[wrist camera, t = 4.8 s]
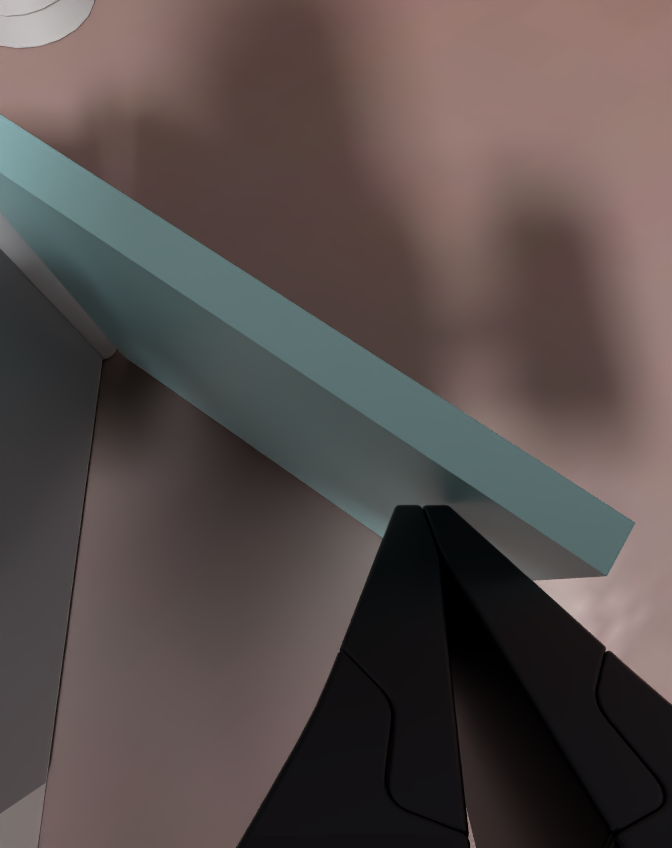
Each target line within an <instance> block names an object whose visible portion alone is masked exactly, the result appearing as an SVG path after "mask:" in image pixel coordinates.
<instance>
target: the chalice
mask: <svg viewBox="0 0 672 848" xmlns="http://www.w3.org/2000/svg"><path fill="white" fill-rule="evenodd" d="M93 4H94V0H0V46H7V47H14V48H25V47H36V46H41V45H44V44H48V43H51V42H54V41H57V40H60V39H61V38H63V37H65V36H66V35H68V34H69V33H71V32H73V31H74V30H76V29H77V28H78V27H79V26H80V25H81V24H82V22H83V21H84V20H85V19H86V18H87V17H88V16H89V13H90V11H91V9H92V6H93Z"/></svg>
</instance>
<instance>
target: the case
mask: <svg viewBox="0 0 672 848" xmlns="http://www.w3.org/2000/svg"><path fill="white" fill-rule="evenodd" d="M115 351H116V347H115V346H114V345H113V344H112V342H111V341H110V340H109V339H108V338H107V337H106V335H105V334H104V333H103V332H102V331H101V330H100V328H99V327H98V326H97V325H96V324H95V322H94V321H93V320H92V319H91V318H90V317H89V315H88V314H87V313H86V312H85V311H84V310H83V308H82V307H81V306H80V305H79V304H78V303H77V301H76V300H75V299H74V298H73V297H72V296H71V294H70V293H69V292H68V291H67V290H66V289H65V287H64V286H63V285H62V284H61V283H60V281H59V280H58V279H57V278H56V277H55V276H54V274H53V273H52V272H51V271H50V270H49V269H48V267H47V266H46V265H45V264H44V263H43V262H42V260H41V259H40V258H39V257H38V256H37V255H36V253H35V252H34V251H33V250H32V249H31V247H30V246H29V245H28V244H27V243H26V242H25V240H24V239H23V238H22V237H21V236H20V235H19V233H18V232H17V231H16V230H15V229H14V228H13V226H12V225H11V224H10V223H9V222H8V221H7V219H6V218H5V217H4V216H3V215H2V214H1V212H0V848H38V842H39V834H40V826H41V819H42V811H43V804H44V796H45V789H46V781H47V774H48V766H49V759H50V751H51V743H52V736H53V728H54V721H55V713H56V706H57V698H58V691H59V683H60V676H61V668H62V660H63V653H64V645H65V638H66V630H67V623H68V615H69V608H70V600H71V592H72V585H73V577H74V570H75V562H76V555H77V547H78V540H79V532H80V525H81V517H82V509H83V502H84V494H85V487H86V479H87V472H88V464H89V457H90V449H91V442H92V434H93V426H94V419H95V411H96V404H97V396H98V389H99V381H100V374H101V366H102V359H107V358H109V357H111V356H112V355H113V354H114V353H115Z"/></svg>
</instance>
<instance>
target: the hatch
mask: <svg viewBox="0 0 672 848" xmlns="http://www.w3.org/2000/svg"><path fill="white" fill-rule="evenodd" d="M0 212H1V214H2V215H3V216H4V217H5V218H6V219H7V221H8V222H9V223H10V224H11V225H12V226H13V228H14V229H15V230H16V231H17V232H18V233H19V235H20V236H21V237H22V238H23V239H24V240H25V242H26V243H27V244H28V245H29V246H30V247H31V249H32V250H33V251H34V252H35V253H36V255H37V256H38V257H39V258H40V259H41V260H42V262H43V263H44V264H45V265H46V266H47V267H48V269H49V270H50V271H51V272H52V273H53V274H54V276H55V277H56V278H57V279H58V280H59V281H60V283H61V284H62V285H63V286H64V287H65V289H66V290H67V291H68V292H69V293H70V294H71V296H72V297H73V298H74V299H75V300H76V301H77V303H78V304H79V305H80V306H81V307H82V308H83V310H84V311H85V312H86V313H87V314H88V315H89V317H90V318H91V319H92V320H93V321H94V322H95V324H96V325H97V326H98V327H99V328H100V330H101V331H102V332H103V333H104V334H105V335H106V337H107V338H108V339H109V340H110V341H111V342H112V344H113V345H114V346H115V347H116V348H117V349H118V351H119V352H120V353H121V354H122V355H123V356H124V357H125V358H127V359H128V360H130V361H131V362H132V363H134V364H135V365H137V366H138V367H140V368H141V369H142V370H144V371H145V372H147V373H148V374H150V375H151V376H152V377H154V378H155V379H157V380H158V381H159V382H161V383H162V384H164V385H165V386H167V387H168V388H169V389H171V390H172V391H174V392H175V393H177V394H178V395H179V396H181V397H182V398H184V399H185V400H187V401H188V402H189V403H191V404H192V405H194V406H195V407H197V408H198V409H199V410H201V411H202V412H204V413H205V414H207V415H208V416H209V417H211V418H212V419H214V420H215V421H217V422H218V423H219V424H221V425H222V426H224V427H225V428H226V429H228V430H229V431H231V432H232V433H234V434H235V435H236V436H238V437H239V438H241V439H242V440H244V441H245V442H246V443H248V444H249V445H251V446H252V447H254V448H255V449H256V450H258V451H259V452H261V453H262V454H264V455H265V456H266V457H268V458H269V459H271V460H272V461H274V462H275V463H276V464H278V465H279V466H281V467H282V468H283V469H285V470H286V471H288V472H289V473H291V474H292V475H293V476H295V477H296V478H298V479H299V480H301V481H302V482H303V483H305V484H306V485H308V486H309V487H311V488H312V489H313V490H315V491H316V492H318V493H319V494H321V495H322V496H323V497H325V498H326V499H328V500H329V501H331V502H332V503H333V504H335V505H336V506H338V507H339V508H341V509H342V510H343V511H345V512H346V513H348V514H349V515H350V516H352V517H353V518H355V519H356V520H358V521H359V522H360V523H362V524H363V525H365V526H366V527H368V528H369V529H370V530H372V531H373V532H375V533H376V534H378V535H379V536H380V537H382V538H383V536H384V534H385V531H386V529H387V526H388V523H389V521H390V518H391V516H392V513H393V511H394V508H395V507H396V506H397V505H419V506H421V507H422V508H423V506H425V505H448V506H450V507H451V508H452V509H453V510H454V511H456V512H457V513H458V514H459V515H460V516H461V517H462V518H463V519H464V520H466V521H467V522H468V523H469V524H470V525H471V526H472V527H473V528H474V529H476V530H477V531H478V532H479V533H480V534H481V535H482V536H483V537H484V538H485V539H487V540H488V541H489V542H490V543H491V544H492V545H493V546H494V547H495V548H497V549H498V550H499V551H500V552H501V553H502V554H503V555H504V556H505V557H507V558H508V559H509V560H510V561H511V562H512V563H513V564H514V565H515V566H517V567H518V568H519V569H520V570H521V571H522V572H523V573H524V574H525V575H527V576H528V577H529V578H530V579H531V580H532V581H534V580H550V579H567V578H583V577H600V576H607V575H608V573H609V571H610V569H611V568H612V566H613V564H614V562H615V560H616V558H617V556H618V554H619V552H620V551H621V549H622V547H623V545H624V543H625V541H626V539H627V537H628V536H629V534H630V532H631V530H632V528H633V526H634V524H635V522H633V521H632V520H630V519H629V518H627V517H626V516H624V515H623V514H621V513H619V512H618V511H616V510H615V509H613V508H612V507H610V506H609V505H607V504H605V503H604V502H602V501H601V500H599V499H598V498H596V497H595V496H593V495H591V494H590V493H588V492H587V491H585V490H584V489H582V488H581V487H579V486H577V485H576V484H574V483H573V482H571V481H570V480H568V479H567V478H565V477H563V476H562V475H560V474H559V473H557V472H556V471H554V470H553V469H551V468H549V467H548V466H546V465H545V464H543V463H542V462H540V461H539V460H537V459H535V458H534V457H532V456H531V455H529V454H528V453H526V452H525V451H523V450H521V449H520V448H518V447H517V446H515V445H514V444H512V443H511V442H509V441H507V440H506V439H504V438H503V437H501V436H500V435H498V434H497V433H495V432H493V431H492V430H490V429H489V428H487V427H486V426H484V425H483V424H481V423H479V422H478V421H476V420H475V419H473V418H472V417H470V416H469V415H467V414H465V413H464V412H462V411H461V410H459V409H458V408H456V407H455V406H453V405H451V404H450V403H448V402H447V401H445V400H444V399H442V398H441V397H439V396H437V395H436V394H434V393H433V392H431V391H430V390H428V389H427V388H425V387H423V386H422V385H420V384H419V383H417V382H416V381H414V380H413V379H411V378H409V377H408V376H406V375H405V374H403V373H402V372H400V371H399V370H397V369H395V368H394V367H392V366H391V365H389V364H388V363H386V362H385V361H383V360H381V359H380V358H378V357H377V356H375V355H374V354H372V353H371V352H369V351H367V350H366V349H364V348H363V347H361V346H360V345H358V344H357V343H355V342H353V341H352V340H350V339H349V338H347V337H346V336H344V335H343V334H341V333H339V332H338V331H336V330H335V329H333V328H332V327H330V326H329V325H327V324H325V323H324V322H322V321H321V320H319V319H318V318H316V317H315V316H313V315H311V314H310V313H308V312H307V311H305V310H304V309H302V308H301V307H299V306H297V305H296V304H294V303H293V302H291V301H290V300H288V299H287V298H285V297H283V296H282V295H280V294H279V293H277V292H276V291H274V290H273V289H271V288H269V287H268V286H266V285H265V284H263V283H262V282H260V281H259V280H257V279H255V278H254V277H252V276H251V275H249V274H248V273H246V272H245V271H243V270H241V269H240V268H238V267H237V266H235V265H234V264H232V263H231V262H229V261H227V260H226V259H224V258H223V257H221V256H220V255H218V254H216V253H215V252H213V251H212V250H210V249H209V248H207V247H206V246H204V245H202V244H201V243H199V242H198V241H196V240H195V239H193V238H192V237H190V236H188V235H187V234H185V233H184V232H182V231H181V230H179V229H178V228H176V227H174V226H173V225H171V224H170V223H168V222H167V221H165V220H164V219H162V218H160V217H159V216H157V215H156V214H154V213H153V212H151V211H150V210H148V209H146V208H145V207H143V206H142V205H140V204H139V203H137V202H136V201H134V200H132V199H131V198H129V197H128V196H126V195H125V194H123V193H122V192H120V191H118V190H117V189H115V188H114V187H112V186H111V185H109V184H108V183H106V182H104V181H103V180H101V179H100V178H98V177H97V176H95V175H94V174H92V173H90V172H89V171H87V170H86V169H84V168H83V167H81V166H80V165H78V164H76V163H75V162H73V161H72V160H70V159H69V158H67V157H66V156H64V155H62V154H61V153H59V152H58V151H56V150H55V149H53V148H52V147H50V146H48V145H47V144H45V143H44V142H42V141H41V140H39V139H38V138H36V137H34V136H33V135H31V134H30V133H28V132H27V131H25V130H24V129H22V128H20V127H19V126H17V125H16V124H14V123H13V122H11V121H10V120H8V119H6V118H5V117H3V116H2V115H0Z"/></svg>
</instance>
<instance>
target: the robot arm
mask: <svg viewBox="0 0 672 848" xmlns="http://www.w3.org/2000/svg"><path fill="white" fill-rule="evenodd" d="M605 652H606V653H605ZM466 808H467V812H468V816H469V820H470V824H471V829H472V833H473V837H474V841H475V845H476V848H672V704H670V703H669V702H668V701H667V700H666V699H665V698H663V697H662V696H661V695H660V694H659V693H658V692H657V691H655V690H654V689H653V688H652V687H651V686H650V685H648V684H647V683H646V682H645V681H644V680H643V679H641V678H640V677H639V676H638V675H637V674H636V673H634V672H633V671H632V670H631V669H630V668H629V667H628V666H627V665H626V664H624V663H623V662H622V661H621V660H620V659H619V658H618V657H617V656H616V655H614V654H613V653H612V652H611V651H606V647H605V646H604V645H603V644H602V643H601V642H600V641H599V640H598V639H596V638H595V637H594V636H593V635H592V634H591V633H590V632H589V631H588V630H586V629H585V628H584V627H583V626H582V625H581V624H580V623H579V622H578V621H576V620H575V619H574V618H573V617H572V616H571V615H570V614H569V613H568V612H566V611H565V610H564V609H563V608H562V607H561V606H560V605H559V604H558V603H556V602H555V601H554V600H553V599H552V598H551V597H550V596H549V595H548V594H546V593H545V592H544V591H543V590H542V589H541V588H540V587H539V586H538V585H537V584H535V583H534V582H533V581H532V580H531V579H530V578H529V577H528V576H527V575H525V574H524V573H523V572H522V571H521V570H520V569H519V568H518V567H517V566H515V565H514V564H513V563H512V562H511V561H510V560H509V559H508V558H507V557H505V556H504V555H503V554H502V553H501V552H500V551H499V550H498V549H497V548H495V547H494V546H493V545H492V544H491V543H490V542H489V541H488V540H487V539H485V538H484V537H483V536H482V535H481V534H480V533H479V532H478V531H477V530H476V529H474V528H473V527H472V526H471V525H470V524H469V523H468V522H467V521H466V520H464V519H463V518H462V517H461V516H460V515H459V514H458V513H457V512H456V511H454V510H453V509H452V508H451V507H450V506H448V505H425V506H423V508H422V507H421V506H419V505H397V506H396V507H395V508H394V511H393V513H392V516H391V518H390V521H389V523H388V526H387V529H386V531H385V534H384V536H383V539H382V541H381V544H380V547H379V549H378V552H377V554H376V557H375V560H374V562H373V565H372V567H371V570H370V572H369V575H368V578H367V580H366V583H365V585H364V588H363V591H362V593H361V596H360V598H359V601H358V603H357V606H356V609H355V611H354V614H353V616H352V619H351V622H350V624H349V627H348V629H347V632H346V634H345V637H344V640H343V642H342V645H341V647H340V652H339V653H338V654H337V657H336V659H335V662H334V664H333V667H332V669H331V672H330V675H329V677H328V679H327V681H326V684H325V686H324V688H323V691H322V693H321V695H320V698H319V700H318V702H317V704H316V707H315V709H314V710H313V712H312V714H311V716H310V718H309V720H308V722H307V724H306V726H305V728H304V730H303V731H302V733H301V735H300V737H299V739H298V741H297V743H296V745H295V746H294V748H293V750H292V752H291V753H290V755H289V757H288V759H287V760H286V762H285V764H284V766H283V767H282V769H281V771H280V773H279V774H278V776H277V778H276V780H275V781H274V783H273V785H272V787H271V788H270V790H269V792H268V794H267V795H266V797H265V799H264V801H263V802H262V804H261V806H260V808H259V809H258V811H257V813H256V815H255V816H254V818H253V820H252V822H251V823H250V825H249V827H248V828H247V830H246V832H245V834H244V835H243V837H242V839H241V840H240V842H239V844H238V845H237V847H236V848H470V842H469V839H468V835H469V830H468V821H467V812H466Z"/></svg>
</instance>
